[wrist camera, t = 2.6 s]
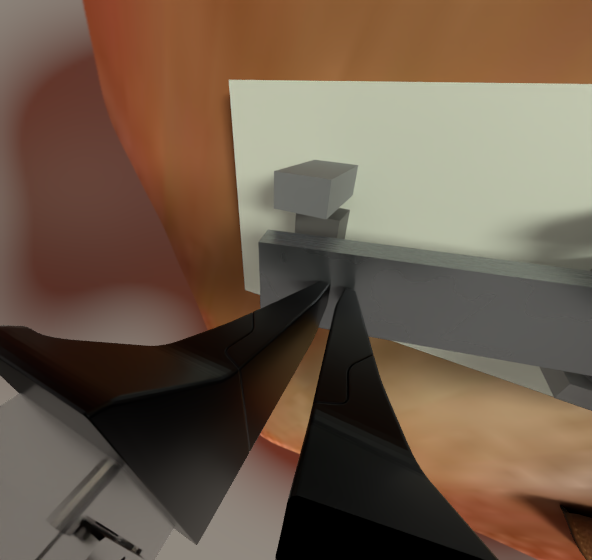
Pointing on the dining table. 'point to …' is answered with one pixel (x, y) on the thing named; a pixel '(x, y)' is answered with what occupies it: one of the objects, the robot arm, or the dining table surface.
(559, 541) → the dining table surface
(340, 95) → the base
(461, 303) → the bar
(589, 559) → the sunglasses case
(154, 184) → the dining table surface
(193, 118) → the dining table surface
